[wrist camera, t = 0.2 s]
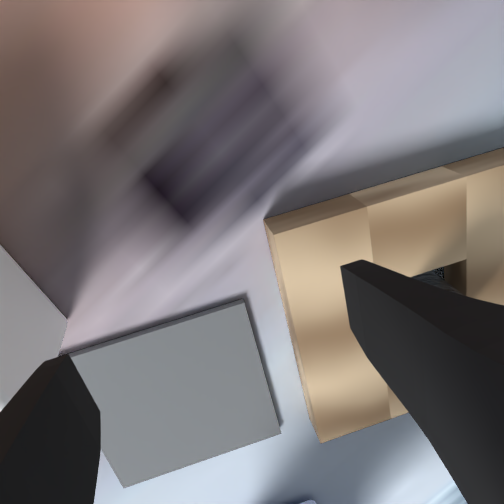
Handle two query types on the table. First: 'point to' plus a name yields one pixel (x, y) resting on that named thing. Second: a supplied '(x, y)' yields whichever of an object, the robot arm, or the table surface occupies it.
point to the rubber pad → (179, 393)
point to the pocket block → (386, 255)
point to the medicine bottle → (24, 328)
